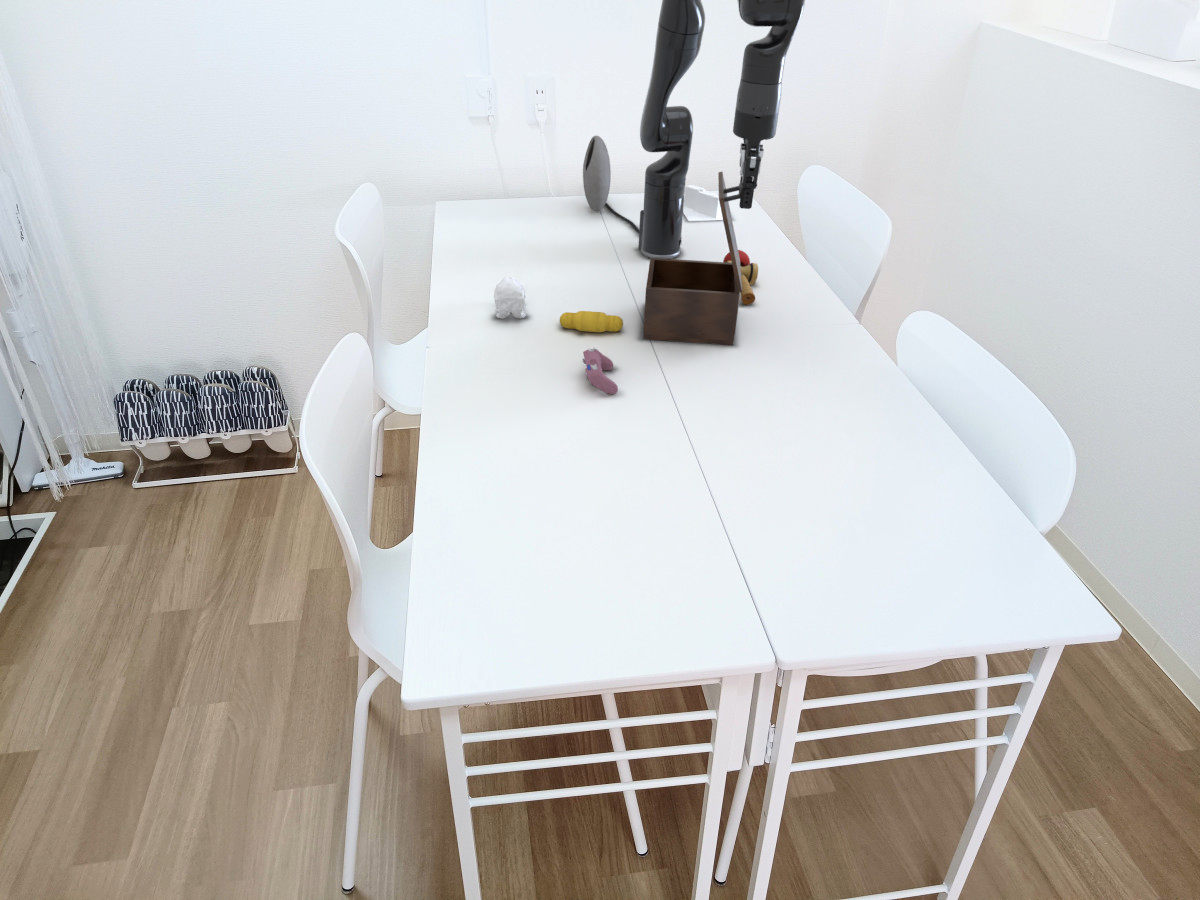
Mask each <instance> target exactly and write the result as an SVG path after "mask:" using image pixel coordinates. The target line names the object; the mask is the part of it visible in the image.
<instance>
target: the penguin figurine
mask: <svg viewBox="0 0 1200 900" xmlns="http://www.w3.org/2000/svg"><path fill="white" fill-rule="evenodd" d="M493 298H494V304H495V306H494V307H495V310H496V311H498V312H496V315H495V317H496V318H498V319H506V318H507V317H508V316H510V314H512V316H513V318H516V319H525V317H526V314H525V313H524V312H523V311H522V310H524V311H525V310H527V309H526V308H527V307H526V300H525V299H526V290H525V287H524V285H523V284H522V283H521V282H520V281H519V279H517V278H516V277H515V276H511V277H509V276H505V277H504V278H502V279H501V280H500V281H499V282H498V283H497V284H496V285H495V287H494V292H493Z"/></svg>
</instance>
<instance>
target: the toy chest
mask: <svg viewBox="0 0 1200 900" xmlns="http://www.w3.org/2000/svg"><path fill="white" fill-rule="evenodd" d="M740 298H741V294H740V292H739V293H738V291H737V286H736V281H735V276H734V271H733V266H732V263H727V262H723V261H711V260H696V259H695V260H693V259H676V258H672V259H663V258H649V265H648V270H647V279H646V285H645V298H644V313H643V314H644V315H643V316H644V317H643V334H642V339H643V340H649V341H663V342H664V341H665V342H666V341H667V342H681V343H682V342H683V343H694V344H708V345H709V344H710V345H724V346H734V343H735V335H736V327H737V320H738V311H739V305H740V304H739V303H740Z"/></svg>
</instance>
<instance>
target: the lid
mask: <svg viewBox="0 0 1200 900" xmlns="http://www.w3.org/2000/svg"><path fill="white" fill-rule="evenodd" d="M717 180H718V195H719V202H720V207H721V212H722V217H723V220H722V221H723V226H724V232H725V236H726V241H727V247H728V252H730V256H731V261H732V266H733V271H734V276H735V281H736V286H737V291H738V293H739V292H742V282H741V267H740V257H739V252H738V250H739V249H738V248H739V247H738V243H737V238H736V233H735V228H734V227H735V226H734V223H733V217H732V213H731V207H730V203H729V202H731V201H737V200H740V197H741V189H742V188H741V183H742V182H740V181H739V184H738V185H735V186H732V187H728V188H727V186H726V182H725V177H724V172H723V171H719V172H718V179H717ZM734 192H738V193H737V194H733V195H728V194H730V193H734Z"/></svg>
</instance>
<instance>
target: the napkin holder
mask: <svg viewBox="0 0 1200 900" xmlns="http://www.w3.org/2000/svg"><path fill="white" fill-rule="evenodd" d="M683 216H685V218H686V219H687V221H688V222H706V221H723V217H722V212H721V207H720V202H719V193H715V192H711V191H708V190H706V189H705V188H704V187H702V186H697V185H694V184H688V185H685V194H684V208H683Z"/></svg>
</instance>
